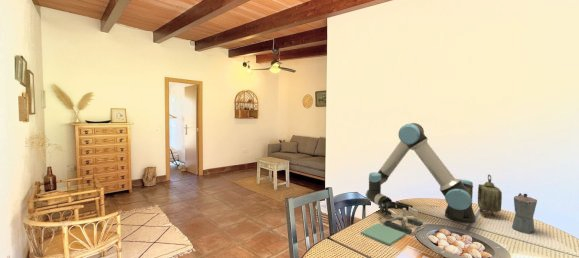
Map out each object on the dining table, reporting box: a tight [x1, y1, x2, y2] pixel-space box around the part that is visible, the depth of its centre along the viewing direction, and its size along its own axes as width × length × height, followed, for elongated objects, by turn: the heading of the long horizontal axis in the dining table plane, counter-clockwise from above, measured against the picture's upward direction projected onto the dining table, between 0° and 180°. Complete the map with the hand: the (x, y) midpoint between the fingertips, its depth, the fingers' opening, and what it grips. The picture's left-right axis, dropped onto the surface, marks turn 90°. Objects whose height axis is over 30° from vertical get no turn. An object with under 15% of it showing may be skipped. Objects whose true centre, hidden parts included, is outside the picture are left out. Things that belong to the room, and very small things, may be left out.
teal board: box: [360, 223, 407, 247], centre depth 134 cm, size 16×16×1 cm
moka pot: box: [511, 193, 538, 235], centre depth 138 cm, size 10×15×20 cm, turn 160°
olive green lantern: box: [477, 174, 503, 218], centre depth 157 cm, size 14×9×25 cm, turn 153°
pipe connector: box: [396, 208, 415, 227], centre depth 143 cm, size 10×10×10 cm
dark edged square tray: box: [382, 217, 424, 237], centre depth 144 cm, size 18×17×2 cm
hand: (406, 214), depth 141 cm, fingers open, 13 cm apart
